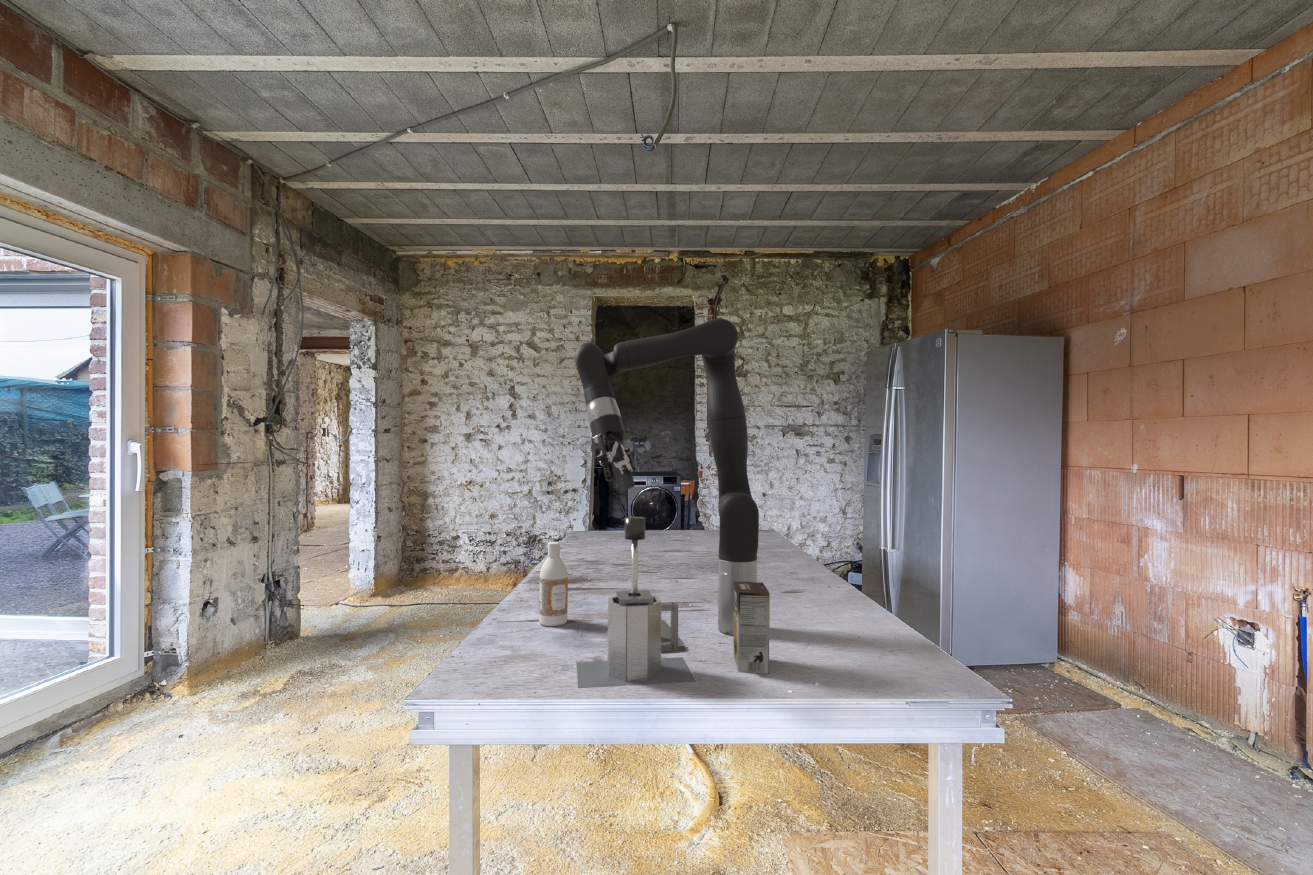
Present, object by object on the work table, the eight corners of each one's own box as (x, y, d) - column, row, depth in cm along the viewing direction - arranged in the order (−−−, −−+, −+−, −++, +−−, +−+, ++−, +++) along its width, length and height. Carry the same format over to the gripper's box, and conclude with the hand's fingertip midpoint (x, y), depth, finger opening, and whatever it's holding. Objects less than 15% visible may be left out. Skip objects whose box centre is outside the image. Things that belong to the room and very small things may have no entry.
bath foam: (545, 628, 148) (546, 545, 148) (534, 621, 153) (535, 541, 154) (571, 624, 151) (572, 543, 152) (560, 617, 157) (560, 539, 157)
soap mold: (666, 627, 151) (666, 613, 151) (686, 655, 131) (686, 639, 131) (625, 630, 149) (625, 615, 149) (639, 658, 129) (639, 641, 129)
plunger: (648, 621, 123) (649, 515, 123) (654, 631, 117) (654, 519, 117) (615, 622, 122) (616, 516, 122) (618, 633, 115) (619, 520, 116)
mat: (682, 659, 127) (682, 657, 127) (696, 683, 115) (696, 681, 115) (576, 664, 124) (576, 662, 124) (578, 689, 111) (578, 687, 111)
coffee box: (732, 657, 129) (733, 580, 129) (763, 658, 128) (763, 581, 129) (736, 673, 120) (737, 591, 120) (769, 674, 119) (770, 591, 119)
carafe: (672, 660, 126) (673, 587, 126) (682, 678, 116) (682, 599, 116) (606, 663, 123) (607, 589, 124) (610, 682, 114) (611, 602, 114)
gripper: (607, 435, 150) (622, 496, 143) (575, 418, 138) (589, 484, 131) (633, 423, 147) (650, 484, 141) (602, 404, 135) (619, 471, 129)
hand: (621, 484), depth 136 cm, fingers open, 8 cm apart
